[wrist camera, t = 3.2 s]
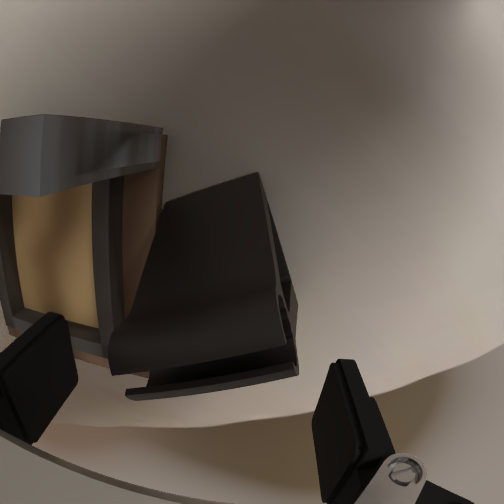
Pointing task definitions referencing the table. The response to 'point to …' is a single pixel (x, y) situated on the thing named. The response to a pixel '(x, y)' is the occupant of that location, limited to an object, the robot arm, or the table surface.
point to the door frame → (77, 222)
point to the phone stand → (210, 298)
